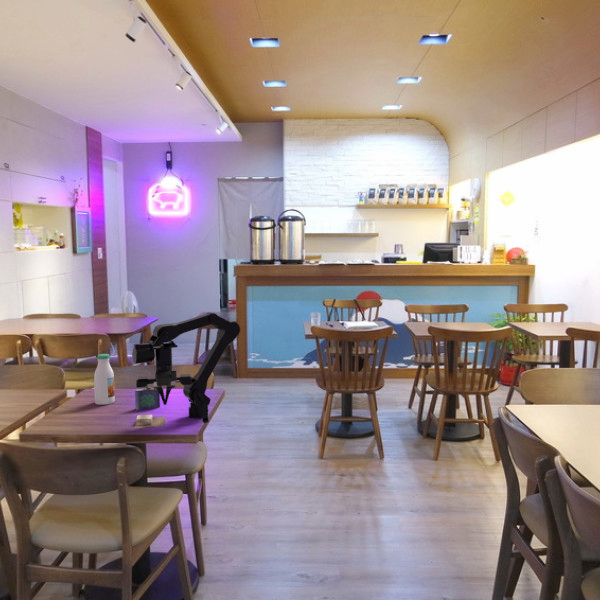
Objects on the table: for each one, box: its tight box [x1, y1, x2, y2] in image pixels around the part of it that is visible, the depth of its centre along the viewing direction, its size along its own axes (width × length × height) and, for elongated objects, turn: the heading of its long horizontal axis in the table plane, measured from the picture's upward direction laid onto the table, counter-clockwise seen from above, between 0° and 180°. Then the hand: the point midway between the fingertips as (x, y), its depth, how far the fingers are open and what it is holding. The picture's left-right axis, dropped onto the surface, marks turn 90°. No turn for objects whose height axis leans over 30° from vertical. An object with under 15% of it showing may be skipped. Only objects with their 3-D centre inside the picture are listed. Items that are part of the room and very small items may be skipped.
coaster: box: [136, 414, 153, 425], centre depth 196 cm, size 5×5×2 cm
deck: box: [134, 416, 166, 429], centre depth 196 cm, size 10×12×2 cm
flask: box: [134, 384, 161, 411], centre depth 215 cm, size 9×3×11 cm, turn 109°
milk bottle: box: [93, 353, 116, 406], centre depth 228 cm, size 8×8×20 cm
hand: (165, 404), depth 197 cm, fingers closed
